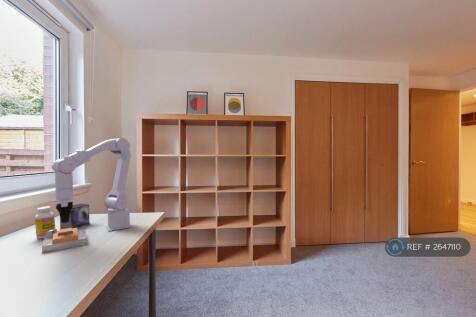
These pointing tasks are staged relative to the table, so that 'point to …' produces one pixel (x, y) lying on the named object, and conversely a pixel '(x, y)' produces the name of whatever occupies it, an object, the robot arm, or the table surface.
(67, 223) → the grey metal square peg
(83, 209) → the small box
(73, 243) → the peg hole board
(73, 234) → the bracket
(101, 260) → the table surface
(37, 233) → the supplement bottle
